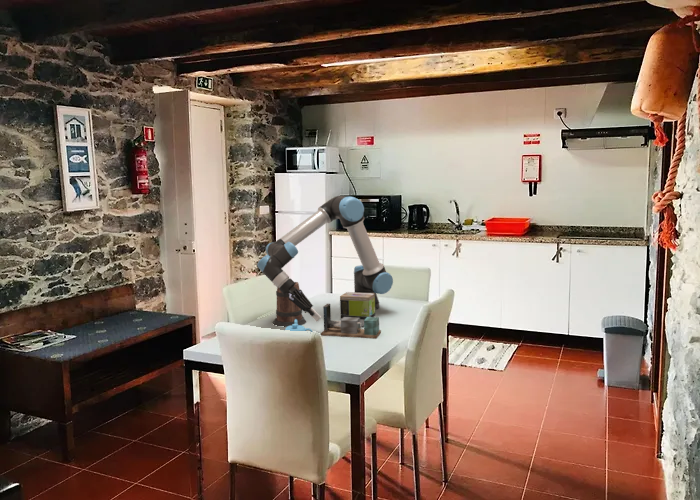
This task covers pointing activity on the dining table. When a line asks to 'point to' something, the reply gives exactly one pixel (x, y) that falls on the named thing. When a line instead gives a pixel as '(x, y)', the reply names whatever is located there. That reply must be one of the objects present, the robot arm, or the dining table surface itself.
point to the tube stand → (355, 328)
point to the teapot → (297, 327)
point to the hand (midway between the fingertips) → (319, 319)
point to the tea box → (357, 305)
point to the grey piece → (330, 323)
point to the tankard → (287, 310)
